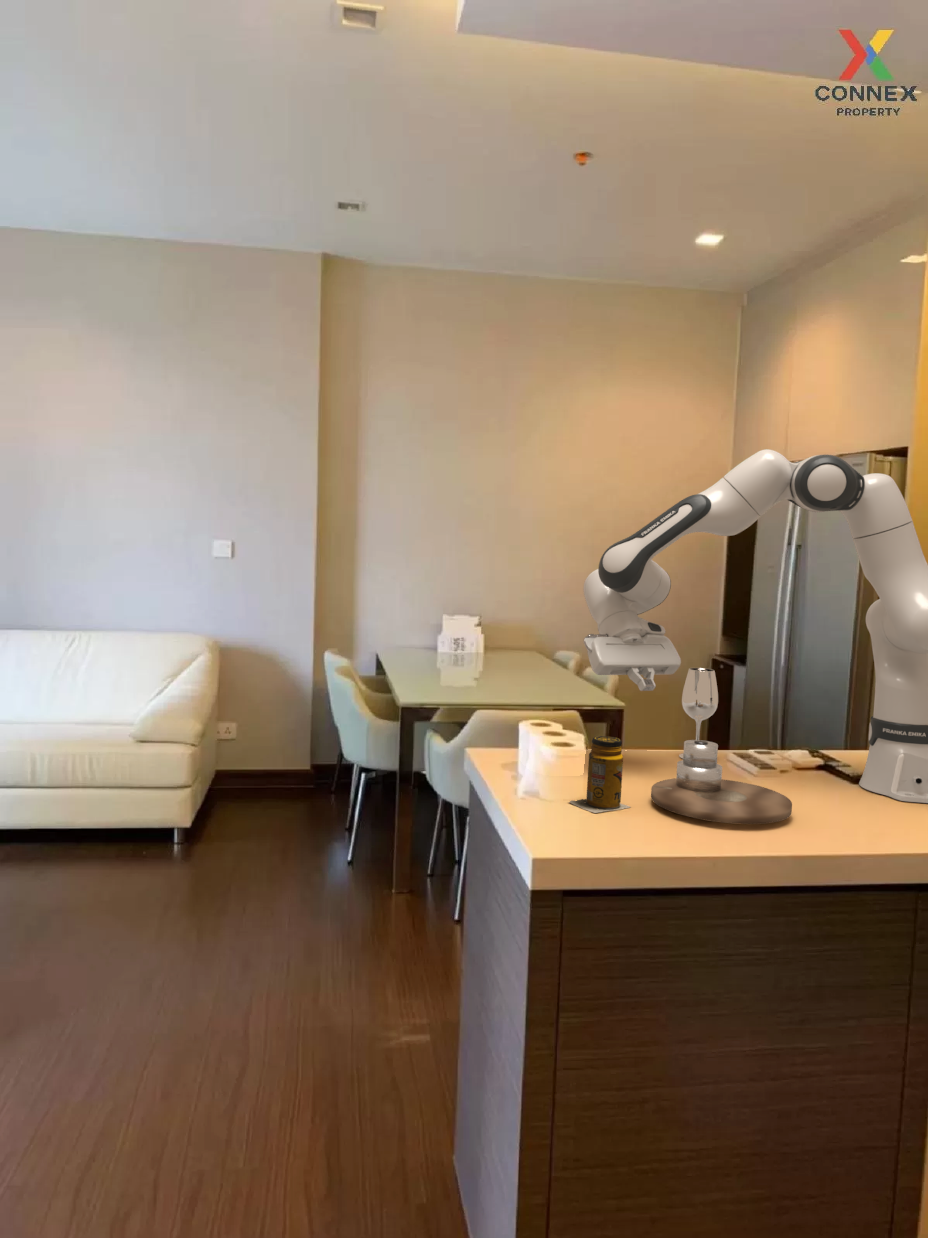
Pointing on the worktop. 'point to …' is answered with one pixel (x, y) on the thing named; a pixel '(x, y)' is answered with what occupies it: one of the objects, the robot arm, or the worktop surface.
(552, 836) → the worktop surface
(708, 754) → the stacked silver spool
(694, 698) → the wineglass
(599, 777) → the condiment
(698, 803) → the disc
